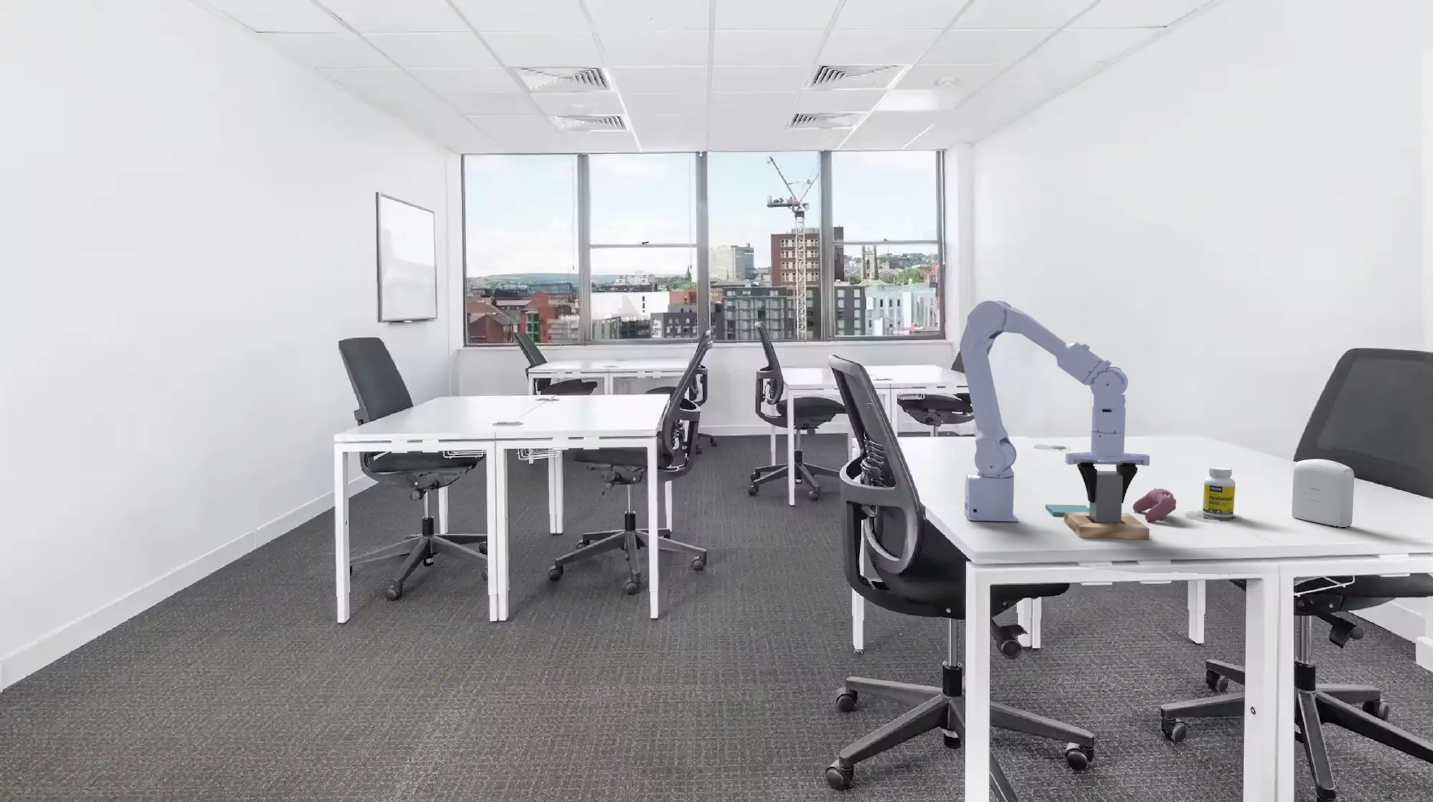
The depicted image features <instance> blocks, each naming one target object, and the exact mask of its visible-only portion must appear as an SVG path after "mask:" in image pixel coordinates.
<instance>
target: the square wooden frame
mask: <svg viewBox="0 0 1433 802" xmlns="http://www.w3.org/2000/svg"><path fill="white" fill-rule="evenodd" d="M1063 523H1065V525H1067V527H1069V528H1070V529H1071V530H1072V531H1073V532H1074V533H1075V534H1076V535H1077V536H1078V537H1079V538H1091V539H1092V538H1093V539H1125V540H1150V528H1149V527H1148V526H1146V525H1145V524H1144V523H1142V522H1141V521H1139V520H1138V519H1137V518H1136V517H1135V516H1133V515H1131V514H1130V513H1129V512H1122V513H1121V523H1113V522H1095V521H1094V520H1093V519H1092V518H1091V517H1089V512H1064V516H1063Z"/></svg>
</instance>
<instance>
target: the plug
mask: <svg viewBox="0 0 1433 802" xmlns="http://www.w3.org/2000/svg"><path fill="white" fill-rule="evenodd" d="M1122 487H1123V475H1121V474H1119V473H1118V472H1116V470H1097V475H1096V482H1095V503H1091V502H1089V507H1088V508H1089V517H1091V518H1092V519H1093V520H1094V521H1095V522H1113V523H1121V513H1123V507H1122V506H1123V503H1122Z"/></svg>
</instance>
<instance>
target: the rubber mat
mask: <svg viewBox="0 0 1433 802" xmlns="http://www.w3.org/2000/svg"><path fill="white" fill-rule="evenodd" d="M1044 506H1045V509H1046V510H1047V511H1048V513H1050V514H1051V516H1053V517H1064V512H1089V507H1088V506H1087V505H1085V504H1083V505H1082V504H1045V505H1044Z"/></svg>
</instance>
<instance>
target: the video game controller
mask: <svg viewBox="0 0 1433 802" xmlns="http://www.w3.org/2000/svg"><path fill="white" fill-rule="evenodd" d="M1176 505H1177V500H1176V498H1174V495H1173V493H1172V492H1171V491H1170V490H1167V489H1164V488H1156V487H1154V488H1153V489H1151V490H1150V491H1148V493H1147V494H1145V495H1144V496H1142V497H1141V498H1139V499H1138V500H1136V501H1134V503H1133V505H1132V510H1133V511H1134V512H1136V513H1142V512H1145V511H1147V510H1148V511H1147V512H1146V513H1145V514H1144V519H1145V521H1146V522H1148V523H1152V522H1157V521H1160V520H1163V519H1164V518H1165V517H1166V516H1168V515H1170V514H1171V513H1172V512H1174V511H1175V510H1176V508H1177V506H1176Z"/></svg>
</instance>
